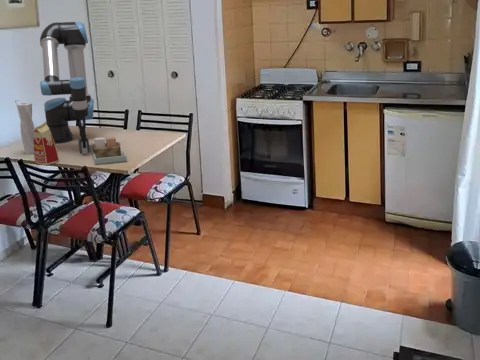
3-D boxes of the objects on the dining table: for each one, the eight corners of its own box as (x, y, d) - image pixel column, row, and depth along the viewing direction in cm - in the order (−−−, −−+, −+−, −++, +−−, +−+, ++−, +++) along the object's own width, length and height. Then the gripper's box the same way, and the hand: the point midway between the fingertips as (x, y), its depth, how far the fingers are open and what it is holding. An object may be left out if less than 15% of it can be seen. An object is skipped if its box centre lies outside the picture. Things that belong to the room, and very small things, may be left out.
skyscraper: (22, 155, 289) (15, 101, 280) (21, 151, 296) (14, 98, 287) (38, 153, 292) (31, 99, 283) (37, 149, 299) (30, 97, 290)
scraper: (79, 153, 291) (78, 140, 289) (79, 151, 295) (78, 138, 293) (120, 149, 297) (119, 136, 295) (119, 147, 301) (118, 135, 299)
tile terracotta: (107, 147, 283) (106, 139, 282) (106, 144, 287) (105, 137, 286) (116, 146, 285) (115, 138, 283) (115, 144, 289) (114, 136, 287)
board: (94, 159, 280) (93, 149, 279) (93, 153, 290) (92, 144, 289) (121, 156, 284) (120, 147, 283) (118, 151, 294) (117, 142, 293)
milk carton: (48, 158, 282) (43, 119, 276) (60, 161, 278) (55, 121, 271) (32, 163, 275) (27, 123, 269) (44, 166, 270) (39, 125, 264)
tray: (95, 164, 271) (94, 158, 270) (93, 159, 280) (93, 153, 279) (126, 161, 276) (126, 155, 275) (124, 156, 285) (123, 150, 284)
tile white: (96, 147, 282) (95, 140, 281) (95, 145, 286) (94, 138, 285) (105, 146, 284) (104, 139, 282) (104, 144, 288) (103, 137, 286)
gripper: (71, 105, 294) (76, 147, 302) (73, 112, 276) (78, 157, 283) (86, 104, 297) (90, 146, 304) (89, 111, 278) (93, 156, 285)
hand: (84, 151), depth 293 cm, fingers open, 8 cm apart
